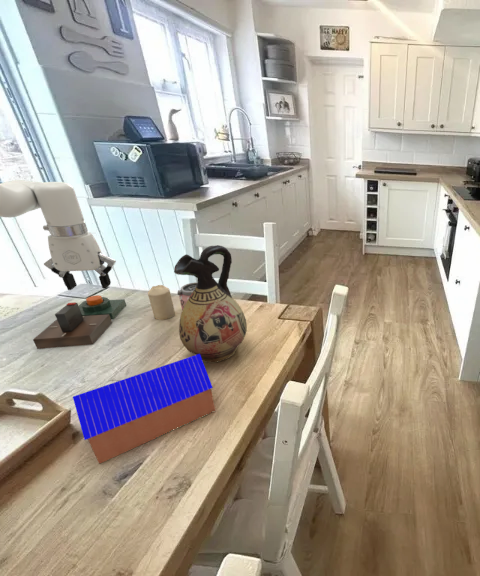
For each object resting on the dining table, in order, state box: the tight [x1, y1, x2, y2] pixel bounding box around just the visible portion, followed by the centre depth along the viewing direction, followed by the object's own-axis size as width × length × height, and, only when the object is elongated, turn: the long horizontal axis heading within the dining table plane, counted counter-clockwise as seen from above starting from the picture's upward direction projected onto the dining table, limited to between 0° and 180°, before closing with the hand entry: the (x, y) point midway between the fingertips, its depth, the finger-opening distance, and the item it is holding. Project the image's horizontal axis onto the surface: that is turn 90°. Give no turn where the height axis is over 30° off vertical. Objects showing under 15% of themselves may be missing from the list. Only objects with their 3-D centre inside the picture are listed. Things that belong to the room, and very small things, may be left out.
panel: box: [32, 314, 113, 350], centre depth 89 cm, size 12×11×3 cm
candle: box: [147, 284, 176, 321], centre depth 99 cm, size 6×6×10 cm
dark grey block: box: [54, 301, 84, 332], centre depth 87 cm, size 6×2×6 cm, turn 14°
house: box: [72, 354, 216, 464], centre depth 64 cm, size 12×20×12 cm, turn 132°
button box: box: [78, 296, 127, 321], centre depth 99 cm, size 11×9×4 cm
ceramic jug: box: [173, 244, 248, 363], centre depth 81 cm, size 17×15×30 cm
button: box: [85, 294, 103, 305], centre depth 98 cm, size 4×4×2 cm
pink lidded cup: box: [176, 281, 198, 312], centre depth 97 cm, size 9×8×12 cm
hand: (89, 287), depth 96 cm, fingers open, 7 cm apart
